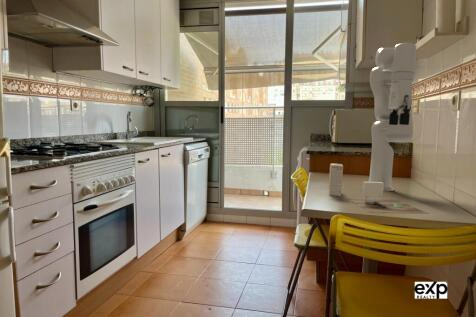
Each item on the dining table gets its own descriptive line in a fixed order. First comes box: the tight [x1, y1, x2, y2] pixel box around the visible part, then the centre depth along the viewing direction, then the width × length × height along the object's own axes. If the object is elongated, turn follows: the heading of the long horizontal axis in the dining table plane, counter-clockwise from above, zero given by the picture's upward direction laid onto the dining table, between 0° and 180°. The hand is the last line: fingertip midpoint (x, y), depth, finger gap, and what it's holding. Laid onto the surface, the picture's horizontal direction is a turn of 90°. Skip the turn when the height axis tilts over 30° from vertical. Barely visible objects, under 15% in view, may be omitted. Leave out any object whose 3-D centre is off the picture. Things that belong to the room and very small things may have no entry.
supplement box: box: [327, 162, 344, 197], centre depth 145 cm, size 8×5×13 cm, turn 168°
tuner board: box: [343, 196, 430, 215], centre depth 129 cm, size 24×20×1 cm
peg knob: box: [361, 181, 386, 208], centre depth 127 cm, size 12×7×8 cm, turn 5°
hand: (398, 124), depth 135 cm, fingers open, 9 cm apart
